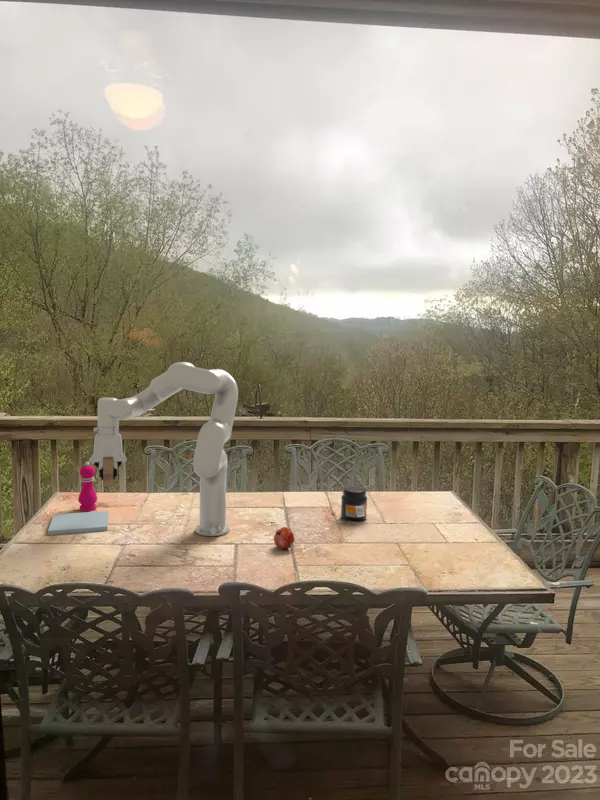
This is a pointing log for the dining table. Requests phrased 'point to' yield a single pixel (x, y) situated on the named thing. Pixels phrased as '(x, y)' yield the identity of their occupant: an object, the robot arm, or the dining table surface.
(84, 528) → the board
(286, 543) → the pomegranate
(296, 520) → the dining table surface
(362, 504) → the supplement container
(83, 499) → the pepper mill
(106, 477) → the walnut slab
